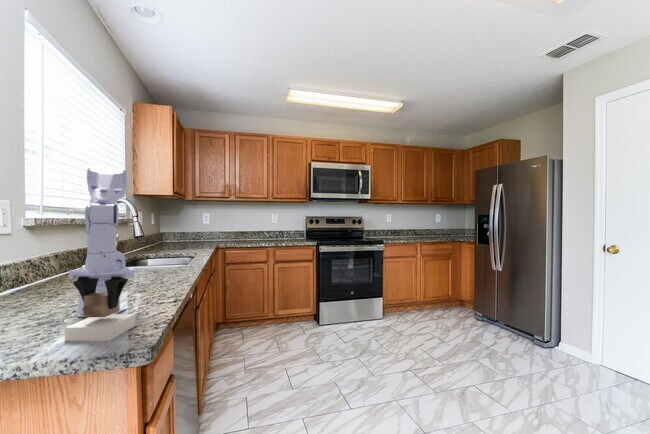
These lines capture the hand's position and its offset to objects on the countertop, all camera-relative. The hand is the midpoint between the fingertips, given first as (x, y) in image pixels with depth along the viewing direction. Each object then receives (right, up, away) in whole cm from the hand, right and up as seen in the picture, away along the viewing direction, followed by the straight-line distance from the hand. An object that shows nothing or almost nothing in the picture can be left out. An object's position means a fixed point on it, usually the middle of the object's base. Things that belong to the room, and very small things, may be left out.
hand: (101, 307), depth 74 cm
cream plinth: (0, -7, 0) cm, 7 cm away
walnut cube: (0, -2, 0) cm, 2 cm away
